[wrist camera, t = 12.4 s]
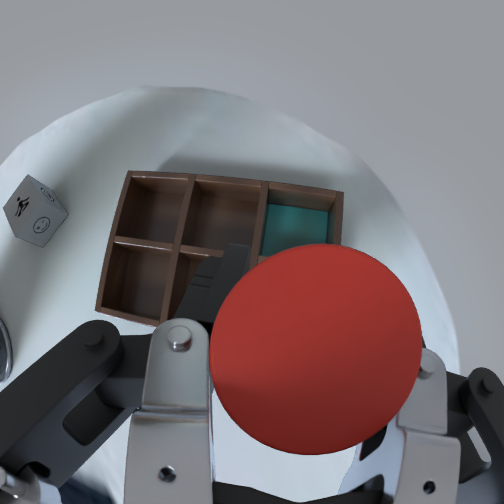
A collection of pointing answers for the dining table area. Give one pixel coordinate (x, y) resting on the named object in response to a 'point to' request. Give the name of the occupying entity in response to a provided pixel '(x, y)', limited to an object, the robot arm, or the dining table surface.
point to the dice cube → (34, 212)
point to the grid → (201, 234)
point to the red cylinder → (315, 349)
